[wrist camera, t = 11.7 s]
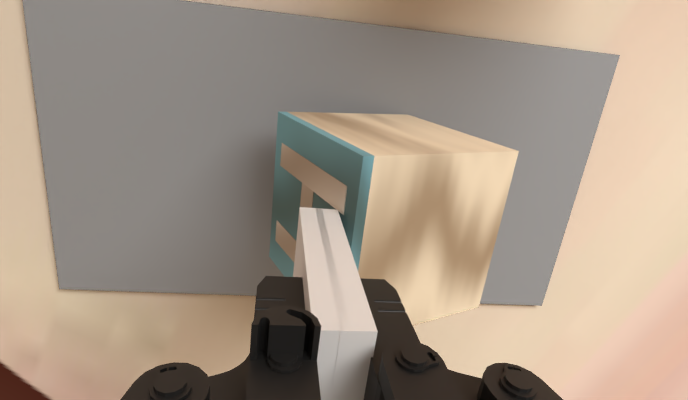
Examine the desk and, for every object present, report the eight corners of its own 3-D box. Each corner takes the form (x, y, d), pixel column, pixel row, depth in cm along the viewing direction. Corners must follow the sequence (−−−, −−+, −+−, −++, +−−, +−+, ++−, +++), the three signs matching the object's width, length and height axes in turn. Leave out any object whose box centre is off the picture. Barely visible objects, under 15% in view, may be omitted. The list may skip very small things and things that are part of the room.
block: (362, 156, 13) (519, 151, 17) (277, 111, 19) (407, 114, 22) (337, 346, 16) (478, 307, 19) (268, 256, 21) (387, 239, 25)
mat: (23, -20, 19) (19, -20, 18) (615, 54, 23) (619, 55, 22) (62, 286, 24) (59, 288, 24) (539, 302, 28) (541, 305, 28)
